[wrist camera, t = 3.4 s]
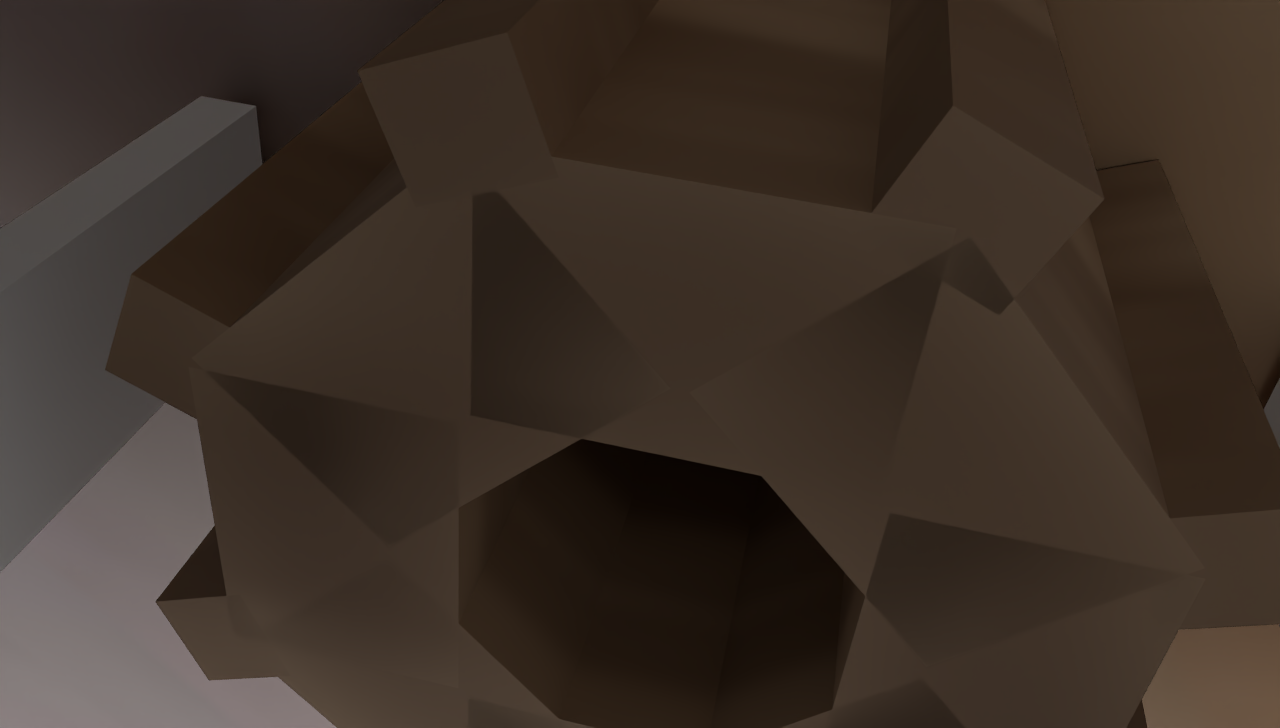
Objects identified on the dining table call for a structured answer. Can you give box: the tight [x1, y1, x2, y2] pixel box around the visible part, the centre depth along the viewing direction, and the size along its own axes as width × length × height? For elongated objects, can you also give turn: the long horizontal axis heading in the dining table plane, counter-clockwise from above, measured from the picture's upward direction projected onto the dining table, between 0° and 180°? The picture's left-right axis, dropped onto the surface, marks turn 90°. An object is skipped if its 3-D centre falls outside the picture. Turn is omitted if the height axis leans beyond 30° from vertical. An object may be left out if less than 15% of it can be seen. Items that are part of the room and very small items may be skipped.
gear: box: [105, 0, 1280, 728], centre depth 12 cm, size 10×10×6 cm
